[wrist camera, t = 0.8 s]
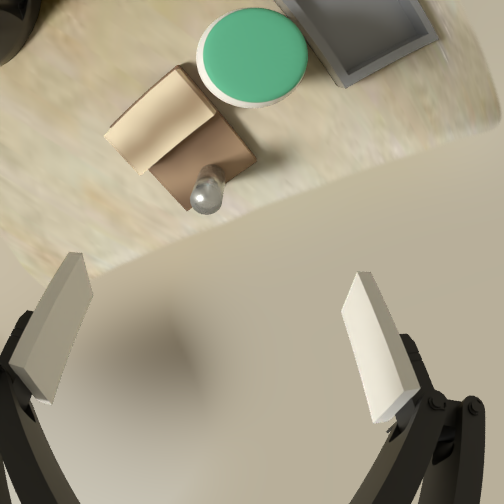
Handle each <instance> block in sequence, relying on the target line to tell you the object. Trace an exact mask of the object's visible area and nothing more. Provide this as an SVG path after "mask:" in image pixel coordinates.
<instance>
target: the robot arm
mask: <svg viewBox="0 0 504 504" xmlns="http://www.w3.org/2000/svg"><path fill="white" fill-rule="evenodd" d="M40 4H41V0H0V66H2V65H4V64H5V63H7V62H8V61H9V60H10V59H12V58H13V57H14V56H15V55H16V54H17V52H18V51H19V50H20V49H21V47H22V46H23V45H24V43H25V42H26V40H27V39H28V37H29V35H30V33H31V31H32V29H33V27H34V25H35V22H36V19H37V16H38V13H39V9H40ZM92 298H93V292H92V289H91V285H90V281H89V278H88V274H87V270H86V266H85V262H84V258H83V254H82V253H75V252H69V253H68V254H67V256H66V258H65V259H64V261H63V262H62V264H61V266H60V267H59V269H58V270H57V272H56V274H55V275H54V277H53V279H52V280H51V282H50V284H49V285H48V287H47V289H46V291H45V293H44V294H43V296H42V298H41V299H40V301H39V303H38V305H37V307H36V309H35V310H34V311H28V310H27V311H26V312H25V313H24V314H23V315H22V316H21V317H20V318H19V320H18V322H17V323H16V325H15V329H13V331H12V333H11V336H10V337H9V339H8V341H7V343H6V345H5V347H4V349H3V351H2V353H1V355H0V504H12V503H11V499H10V494H9V490H8V486H7V480H6V475H5V470H4V464H5V467H6V469H7V472H8V474H9V477H10V479H11V481H12V484H13V486H14V489H15V491H16V493H17V495H18V497H19V500H20V502H21V504H80V502H79V501H78V499H77V497H76V496H75V494H74V492H73V490H72V489H71V487H70V485H69V483H68V482H67V480H66V478H65V476H64V474H63V472H62V471H61V469H60V467H59V465H58V463H57V461H56V459H55V456H54V454H53V452H52V450H51V448H50V446H49V444H48V441H47V440H46V437H45V435H44V433H43V430H42V428H41V425H40V423H39V421H38V418H37V415H36V413H35V410H34V407H33V405H32V403H31V401H30V398H31V395H33V396H34V397H35V398H36V400H37V401H40V402H43V403H46V404H50V405H52V404H53V400H54V397H55V394H56V391H57V388H58V385H59V382H60V379H61V376H62V373H63V370H64V368H65V365H66V362H67V359H68V357H69V354H70V351H71V348H72V346H73V343H74V341H75V338H76V336H77V333H78V331H79V328H80V326H81V323H82V321H83V319H84V316H85V314H86V311H87V309H88V307H89V305H90V302H91V300H92ZM341 313H342V316H343V319H344V322H345V325H346V329H347V332H348V335H349V339H350V342H351V345H352V349H353V352H354V355H355V359H356V362H357V366H358V369H359V372H360V376H361V379H362V383H363V387H364V391H365V394H366V398H367V402H368V406H369V409H370V413H371V417H372V421H373V424H374V423H381V422H386V421H389V420H390V419H391V418H392V417H393V416H394V415H395V416H396V419H397V422H395V423H394V424H393V425H392V426H391V427H390V428H389V429H388V430H387V433H389V432H390V431H391V432H390V434H389V436H388V438H387V440H386V442H385V444H384V446H383V448H382V449H381V451H380V453H379V455H378V457H377V459H376V460H375V462H374V464H373V466H372V468H371V469H370V471H369V473H368V474H367V476H366V478H365V479H364V482H363V483H362V484H361V486H360V488H359V489H358V491H357V492H356V494H355V496H354V497H353V499H352V500H351V502H350V503H349V504H411V502H412V501H413V499H414V496H415V494H416V492H417V490H418V488H419V485H420V484H421V481H422V479H423V483H422V488H421V493H420V498H419V502H418V504H480V497H481V488H482V479H483V468H484V453H485V408H484V405H483V403H482V401H481V400H480V399H479V398H477V397H475V396H468V397H466V398H465V399H464V400H463V401H462V402H460V401H454V400H448V399H447V398H446V397H445V396H444V394H442V393H441V392H440V391H437V390H435V389H434V387H433V385H432V383H431V380H430V378H429V375H428V373H427V370H426V368H425V366H424V363H423V361H422V358H421V356H420V354H419V351H418V349H417V347H416V344H415V342H414V341H413V340H412V339H411V338H410V336H409V335H408V334H399V333H398V330H397V328H396V326H395V323H394V321H393V319H392V317H391V314H390V312H389V310H388V308H387V305H386V303H385V301H384V299H383V297H382V295H381V293H380V290H379V288H378V286H377V284H376V282H375V280H374V278H373V276H372V274H371V272H357V273H356V275H355V278H354V281H353V283H352V286H351V288H350V291H349V293H348V296H347V298H346V301H345V303H344V305H343V308H342V310H341ZM3 461H4V464H3ZM423 477H424V478H423Z"/></svg>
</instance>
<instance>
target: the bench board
mask: <svg viewBox="0 0 504 504" xmlns="http://www.w3.org/2000/svg"><path fill="white" fill-rule="evenodd" d="M175 69H181V70H182V72H183V73H184V74H185V75H186V76H187V77H188V78H189V80H190V81H191V82H192V83H193V84H194V85H195V87H196V88H197V89H198V90H199V91H200V92H201V94H202V95H203V96H204V97H205V98H206V99H207V101H208V102H209V103H210V104H211V105H212V107H213V108H214V109H215V110H216V113H215V115H214V116H213V117H211V118H210V119H209V120H207V121H206V122H205V123H204V124H202V125H201V126H200V127H198V128H197V129H196V130H195V131H193V132H192V133H191V134H190V135H188V136H187V137H186V138H185V139H183V140H182V141H181V142H180V143H178V144H177V145H176V146H175V147H174V148H172V149H171V150H170V151H169V152H168V153H166V154H165V155H164V156H163V157H162V158H160V159H159V160H158V161H157V162H156V163H155V164H154V165H152V166H151V167H150V168H149V169H148V170H149V171H150V172H151V173H152V174H153V175H154V176H155V177H156V179H157V180H158V181H159V182H160V183H161V184H162V185H163V186H164V187H165V188H166V189H167V190H168V191H169V193H170V194H171V195H172V196H173V197H174V198H175V199H176V200H177V201H178V202H179V203H180V204H181V205H182V206H183V208H184V209H185V210H186V211H188V210H190V209H191V208H192V206H191V203H190V196H191V193H192V191H193V188H194V185H195V182H196V179H197V177H198V174H199V172H200V170H201V169H202V168H203V167H204V166H206V165H210V164H213V165H217V166H219V167H220V168H222V169H223V171H224V173H225V183H227V182H228V181H229V180H231V179H232V178H234V177H235V176H237V175H238V174H239V173H241V172H242V171H244V170H245V169H247V168H248V167H250V166H251V165H252V164H254V163H255V162H257V159H256V157H255V156H254V154H253V153H252V152H251V151H250V149H249V148H248V147H247V146H246V144H245V143H244V142H243V141H242V139H241V138H240V137H239V136H238V134H237V133H236V132H235V131H234V129H233V128H232V127H231V126H230V124H229V123H228V122H227V121H226V119H225V118H224V117H223V116H222V115H221V113H220V112H219V111H218V110H217V109H216V107H215V106H214V105H213V104H212V103H211V101H210V100H209V99H208V98H207V97H206V95H205V94H204V93H203V92H202V91H201V90H200V88H199V87H198V86H197V85H196V84H195V83H194V81H193V80H192V79H191V78H190V77H189V76H188V74H187V73H186V72H185V71H184V70H183V69H182V68H181V66H180V65H177V66H176V67H174V68H173V69H172V70H171V71H170V72H168V73H167V74H166V75H165V76H164V77H162V78H161V79H160V80H159V81H158V82H157V83H156V84H154V85H153V86H152V87H151V88H150V89H149V90H148V91H147V92H145V93H144V94H143V95H142V96H141V97H140V98H139V99H138V100H137V101H136V102H135V103H134V104H132V105H131V106H130V107H129V108H128V109H127V110H126V111H125V112H124V113H123V114H122V115H121V116H120V117H119V118H118V119H117V120H116V121H115V122H114V123H113V124H112V125H111V126H110V128H112V127H113V126H114V125H115V124H116V123H117V122H118V121H119V120H120V119H121V118H122V117H123V116H124V115H125V114H126V113H127V112H128V111H129V110H130V109H131V108H132V107H133V106H134V105H135V104H136V103H137V102H138V101H139V100H140V99H142V98H143V97H144V96H145V95H146V94H147V93H148V92H149V91H150V90H152V89H153V88H154V87H155V86H156V85H157V84H158V83H160V82H161V81H162V80H163V79H164V78H165V77H167V76H168V75H169V74H170V73H171V72H173V71H174V70H175Z"/></svg>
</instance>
